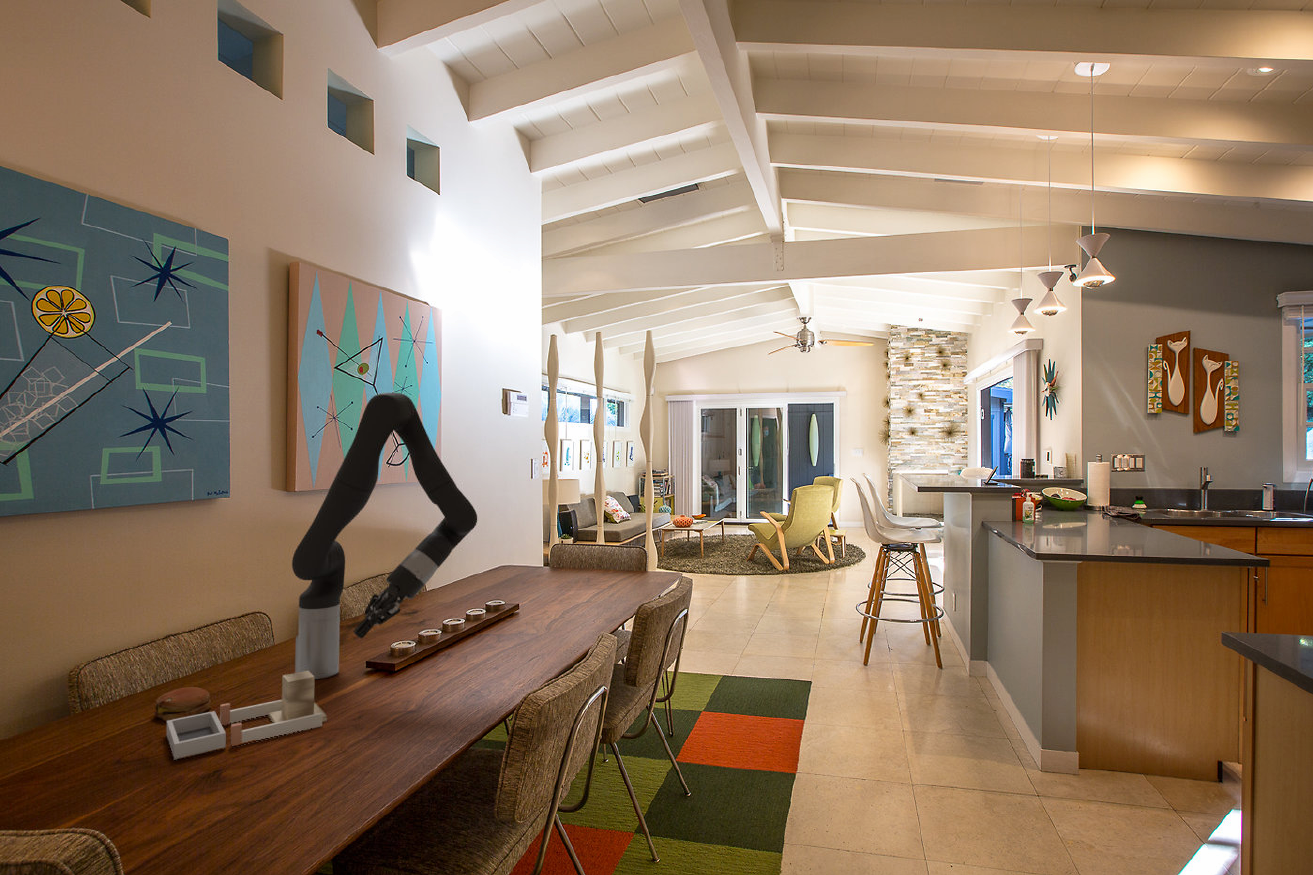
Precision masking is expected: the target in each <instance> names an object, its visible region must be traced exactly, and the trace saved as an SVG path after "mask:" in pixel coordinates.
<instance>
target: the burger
mask: <svg viewBox="0 0 1313 875" xmlns="http://www.w3.org/2000/svg"><path fill="white" fill-rule="evenodd" d="M211 701H212V700H211V699H210V692H209V691H207V690H206V689H203V688H201V687H196V686H195V687H194V686H190V687H188V686H187V687H186V686H185V687H182V688H176V689H173V690H170V691H168V692H165V693H163V694H161V696H158V698H157V699H156V700H155V708H154V709H155V710H156V711H154V712H153V713H154V714H153V715H156V716H157V718H159V719H162V720H163V721H164V722H167V721H168V720H173V719H178V718H183V717H188V716H193V715H198V714H203V713H205V712H206V711H208V710H210V709H211V706H212V704H211Z"/></svg>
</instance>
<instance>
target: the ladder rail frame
mask: <svg viewBox="0 0 1313 875" xmlns="http://www.w3.org/2000/svg"><path fill="white" fill-rule="evenodd" d="M280 710H282V699H278V700H273V701H268V702H263V703H258V704H254V705H249V706H245V707H240V708H239V707H238V708H235V709H231V704H230V702H227V703H222V704H220V705H219V721H220V723H221V725H224V726H227V724H228V725H230V746H231V745H232V746H234V745H238V744H241V743H244V742H248V741H252V740H261V739H265V738H269V739H271V738H270V737H273V738H275V737H274V736H278V737H280V736H279V735H282V736H285V735H284V734H286V735H289V733H290V734H293V732H295V733H298V732H297V731H299V732H302V730H303V731H308V730H310V729H311V728H312V729H316V728H319V727H322V726H323V722H322V713H317V714H313V715H308V716H304V717H299V718H295V719H290V720H286V721H282V722H277V723H270V724H263V725H259V726H255V727H251V728H247V729H242V728H243V724H242V722H243V721H242V720H245V721H247V720H246V719H250V720H252V719H251V718H254V719H257V718H256V717H259V716H264V717H266V716H265V715H268V716H269V713H271V712H276V711H280ZM259 718H260V717H259ZM239 721H240V722H239ZM234 722H236V723H234ZM230 723H231V724H230ZM312 729H311V730H312ZM265 740H266V739H265ZM261 741H262V740H261Z"/></svg>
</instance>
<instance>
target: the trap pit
mask: <svg viewBox="0 0 1313 875" xmlns="http://www.w3.org/2000/svg"><path fill="white" fill-rule="evenodd" d="M226 735H227V733H226V731H225V728H224V727H223V726H222V725H221V723H220V718H219V717H218V715H217V713H216V711H215V710H213V711H209V712H203V713H199V714H197V715H193V716H188V717H183V718H178V719H173V720H168V721H166V739H167V742H168V741H169V742H168V746H169V745H170V746H169V749H170V748H171V749H170V751H172V752H171V755H172V758H173V757H174V758H173V761H174V760H176V761H178V760H177V759H179V758H183V757H186V756H191V755H197V754H201V753H205V752H208V751H212V750H216V749H220V748H225V747H226V746H227V745H226V741H227V736H226ZM201 755H202V754H201ZM197 756H198V755H197Z"/></svg>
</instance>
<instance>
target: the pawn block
mask: <svg viewBox="0 0 1313 875" xmlns="http://www.w3.org/2000/svg"><path fill="white" fill-rule="evenodd" d="M281 678H282V679H281V680H282V681H281V682H282V684H281V685H282V687H281V700H282V710H280V711H276V712H271V713H269V715H268V718H270V719H271V720H270V719H269V720H270V722H271V721H272V722H273V723H277V722H282V721H286V720H290V719H295V718H299V717H304V716H308V715H313V714H317V713H322V723H323V722H327V721H328V716H327V714H326V713H325V712H324V711H323V710H322V709H321V707H319V705H318V704H317V703H316V702H315V680H316V679H315V677H314V676H313V675H312V674H311V673H310V672H309V671H304V672H298V673H295V672H294V673H289V674H283V675H282V676H281ZM272 722H271V723H272ZM273 723H272V724H273Z"/></svg>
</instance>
